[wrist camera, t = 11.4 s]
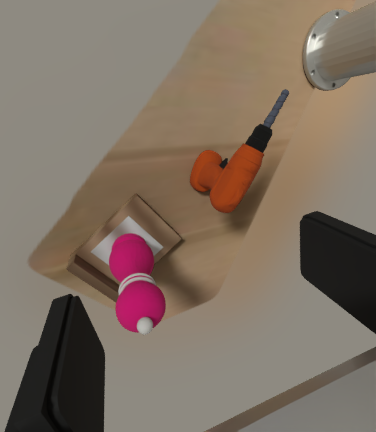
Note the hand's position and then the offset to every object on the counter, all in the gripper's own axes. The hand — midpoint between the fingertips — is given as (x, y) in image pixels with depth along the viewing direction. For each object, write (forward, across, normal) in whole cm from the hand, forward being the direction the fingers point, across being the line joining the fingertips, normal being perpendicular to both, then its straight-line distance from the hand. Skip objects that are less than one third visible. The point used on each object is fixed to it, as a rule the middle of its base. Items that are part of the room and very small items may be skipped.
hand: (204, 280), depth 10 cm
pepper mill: (+33, +5, +14) cm, 37 cm away
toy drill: (+36, -15, +1) cm, 39 cm away
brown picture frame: (+35, +5, +14) cm, 38 cm away
